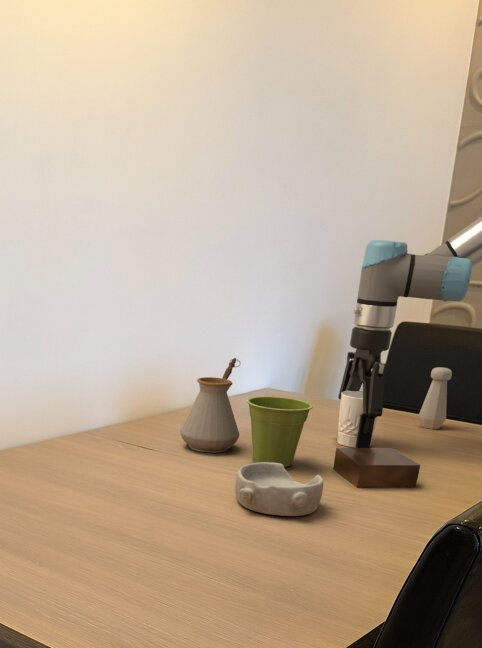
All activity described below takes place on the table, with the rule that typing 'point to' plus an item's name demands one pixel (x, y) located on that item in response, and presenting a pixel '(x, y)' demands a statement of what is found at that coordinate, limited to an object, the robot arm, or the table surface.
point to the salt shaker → (435, 399)
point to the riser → (376, 467)
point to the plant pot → (276, 427)
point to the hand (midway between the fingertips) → (352, 442)
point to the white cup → (350, 418)
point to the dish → (276, 490)
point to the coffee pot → (211, 416)
